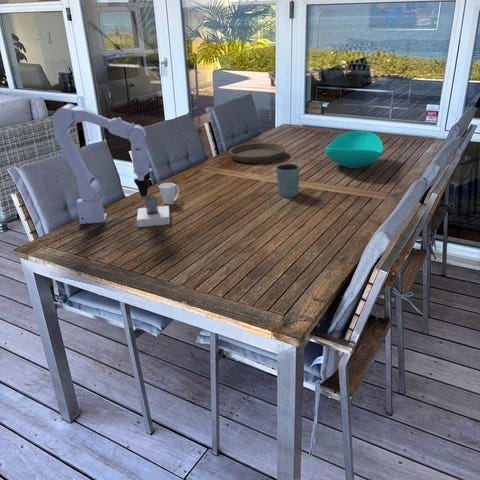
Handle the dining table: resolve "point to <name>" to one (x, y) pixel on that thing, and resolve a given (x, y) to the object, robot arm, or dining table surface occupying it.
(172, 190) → the cup
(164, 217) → the base block
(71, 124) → the robot arm
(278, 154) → the plant saucer
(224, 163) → the dining table surface
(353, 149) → the table top decor
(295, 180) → the drinking glass
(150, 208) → the grey cylinder
